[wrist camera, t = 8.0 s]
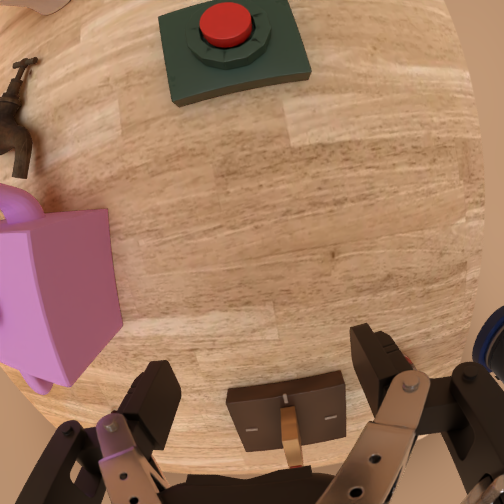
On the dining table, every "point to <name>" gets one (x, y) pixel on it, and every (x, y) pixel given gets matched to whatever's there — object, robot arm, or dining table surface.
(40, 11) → the vase
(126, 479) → the robot arm
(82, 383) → the dining table surface
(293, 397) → the panel
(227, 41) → the button
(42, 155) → the dining table surface
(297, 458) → the handle
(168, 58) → the switch box
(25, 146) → the faucet
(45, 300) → the teapot
